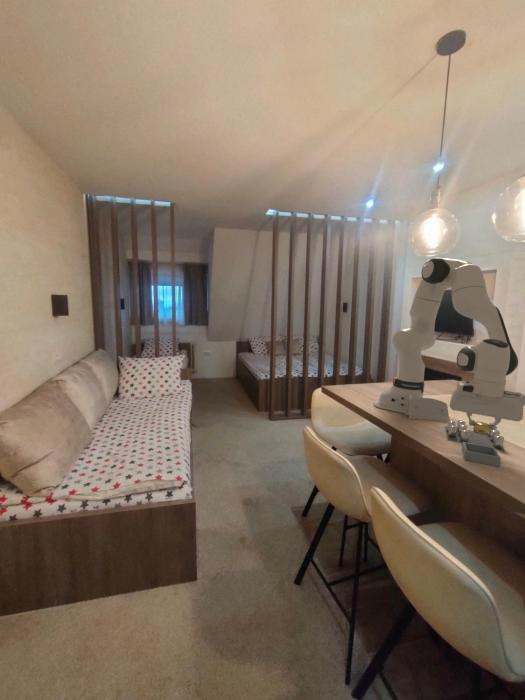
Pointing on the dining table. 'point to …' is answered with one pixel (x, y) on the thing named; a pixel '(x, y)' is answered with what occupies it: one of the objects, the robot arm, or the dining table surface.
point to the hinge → (428, 409)
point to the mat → (473, 439)
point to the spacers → (464, 433)
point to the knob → (481, 428)
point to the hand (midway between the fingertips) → (481, 427)
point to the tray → (480, 454)
